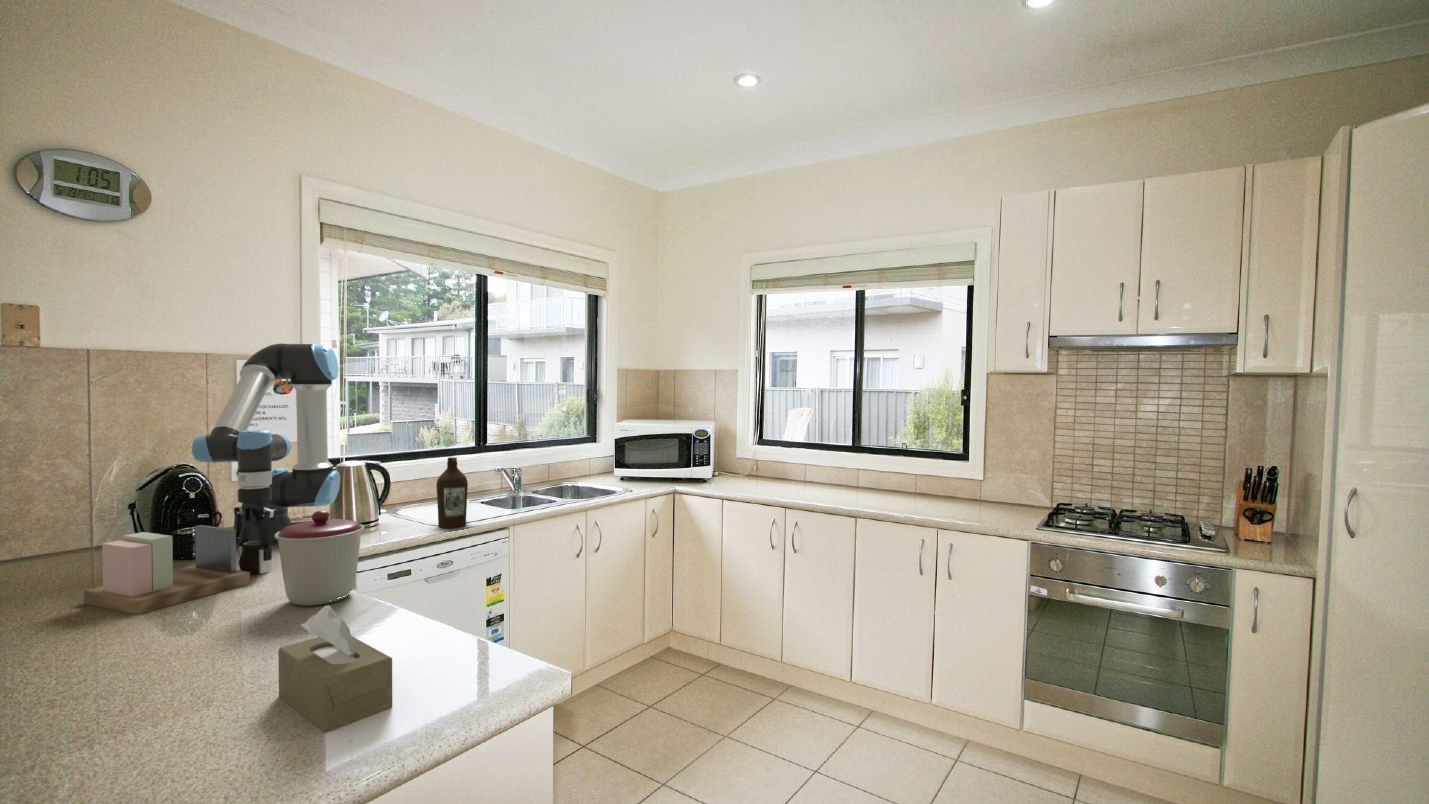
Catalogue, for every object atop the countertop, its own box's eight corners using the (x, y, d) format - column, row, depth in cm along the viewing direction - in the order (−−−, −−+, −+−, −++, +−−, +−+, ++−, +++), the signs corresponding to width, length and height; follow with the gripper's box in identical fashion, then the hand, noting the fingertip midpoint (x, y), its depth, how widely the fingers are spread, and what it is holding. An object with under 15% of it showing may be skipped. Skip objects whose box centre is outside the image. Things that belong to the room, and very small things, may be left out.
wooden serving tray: (199, 575, 170) (199, 564, 170) (249, 583, 162) (249, 572, 162) (83, 603, 147) (83, 590, 147) (136, 614, 140) (136, 601, 140)
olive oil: (434, 524, 235) (433, 457, 234) (464, 521, 240) (464, 455, 240) (439, 530, 226) (439, 459, 225) (470, 526, 232) (470, 458, 231)
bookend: (200, 566, 167) (200, 525, 167) (236, 572, 162) (235, 529, 162) (195, 567, 166) (195, 525, 166) (231, 573, 161) (230, 530, 161)
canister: (314, 616, 139) (313, 520, 139) (255, 607, 145) (255, 515, 145) (381, 592, 157) (381, 506, 156) (326, 584, 162) (326, 502, 162)
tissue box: (277, 696, 103) (277, 599, 103) (342, 675, 111) (341, 585, 111) (325, 735, 92) (325, 626, 92) (393, 708, 100) (393, 608, 99)
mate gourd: (243, 569, 175) (243, 533, 175) (275, 567, 178) (276, 531, 178) (234, 576, 169) (234, 538, 169) (268, 574, 171) (268, 537, 171)
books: (144, 581, 154) (143, 532, 154) (172, 586, 150) (172, 535, 150) (102, 590, 147) (102, 539, 147) (131, 596, 143) (131, 543, 143)
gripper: (215, 486, 173) (216, 570, 173) (266, 491, 166) (266, 578, 166) (244, 483, 180) (244, 563, 180) (294, 487, 173) (294, 571, 173)
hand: (255, 570), depth 173 cm, fingers closed on mate gourd, 7 cm apart
